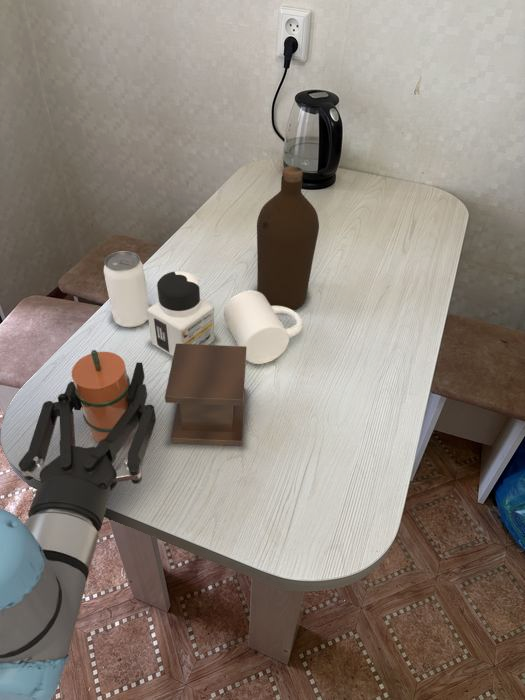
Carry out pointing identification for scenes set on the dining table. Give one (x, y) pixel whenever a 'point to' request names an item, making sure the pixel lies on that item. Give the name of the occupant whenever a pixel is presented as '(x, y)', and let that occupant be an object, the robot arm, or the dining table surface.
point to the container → (180, 313)
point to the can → (126, 288)
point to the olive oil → (286, 243)
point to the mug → (259, 326)
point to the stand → (207, 394)
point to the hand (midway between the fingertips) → (114, 368)
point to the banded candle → (101, 391)
